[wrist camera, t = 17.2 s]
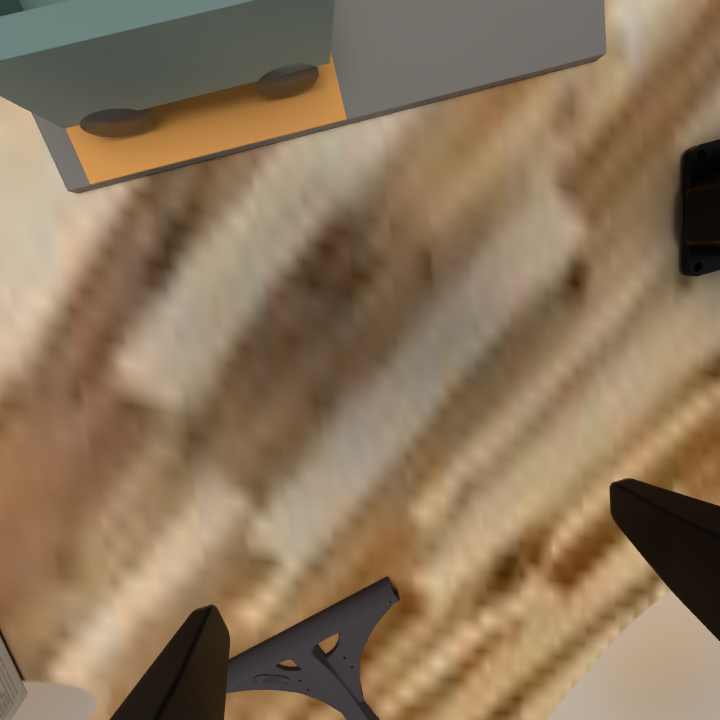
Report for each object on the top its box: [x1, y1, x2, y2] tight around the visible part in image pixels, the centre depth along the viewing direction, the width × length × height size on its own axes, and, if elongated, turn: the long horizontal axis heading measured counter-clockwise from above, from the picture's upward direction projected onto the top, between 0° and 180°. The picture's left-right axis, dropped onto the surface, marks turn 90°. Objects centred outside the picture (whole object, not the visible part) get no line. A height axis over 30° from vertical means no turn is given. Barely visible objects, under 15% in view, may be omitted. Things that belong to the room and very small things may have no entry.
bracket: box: [226, 577, 400, 720], centre depth 25 cm, size 14×15×3 cm
